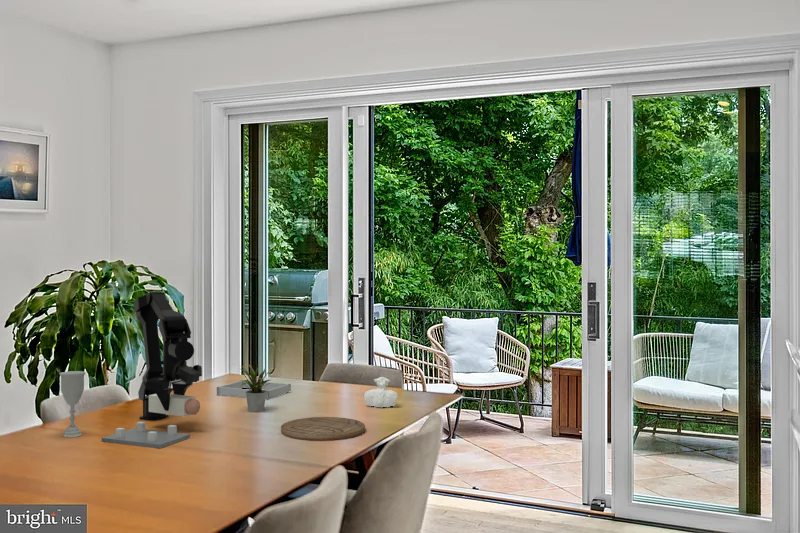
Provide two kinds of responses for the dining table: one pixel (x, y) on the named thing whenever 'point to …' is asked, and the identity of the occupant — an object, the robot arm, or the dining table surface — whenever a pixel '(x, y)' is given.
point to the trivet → (322, 428)
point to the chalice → (72, 396)
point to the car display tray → (236, 390)
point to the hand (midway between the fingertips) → (172, 408)
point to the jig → (146, 436)
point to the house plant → (255, 390)
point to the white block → (175, 405)
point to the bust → (381, 395)
